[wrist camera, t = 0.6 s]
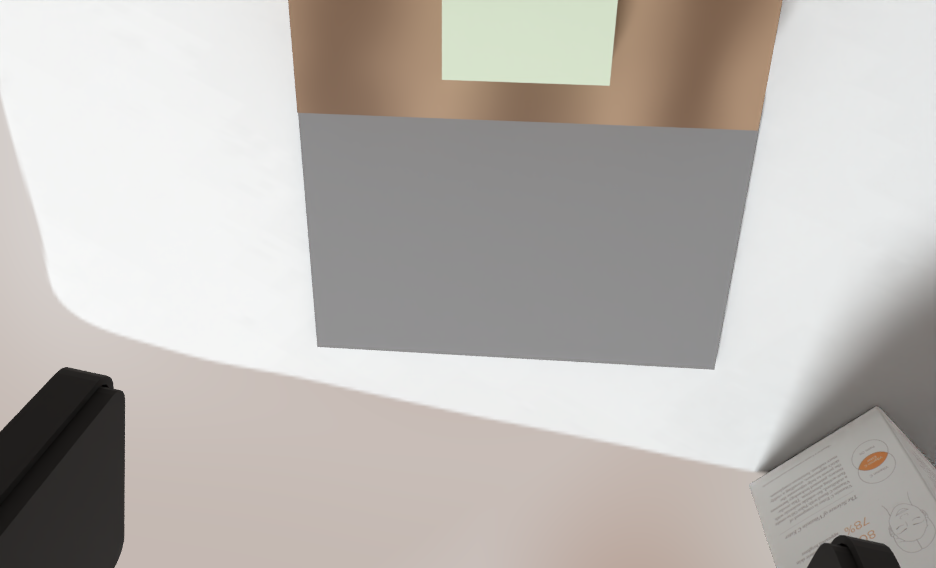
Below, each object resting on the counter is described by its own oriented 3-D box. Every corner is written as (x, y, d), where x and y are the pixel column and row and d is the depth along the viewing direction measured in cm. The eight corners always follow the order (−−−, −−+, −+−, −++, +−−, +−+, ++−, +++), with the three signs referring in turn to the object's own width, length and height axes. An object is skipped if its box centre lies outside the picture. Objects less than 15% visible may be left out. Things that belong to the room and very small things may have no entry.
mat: (759, 108, 35) (762, 111, 34) (712, 364, 41) (714, 369, 40) (299, 91, 36) (296, 94, 36) (319, 341, 42) (317, 346, 42)
